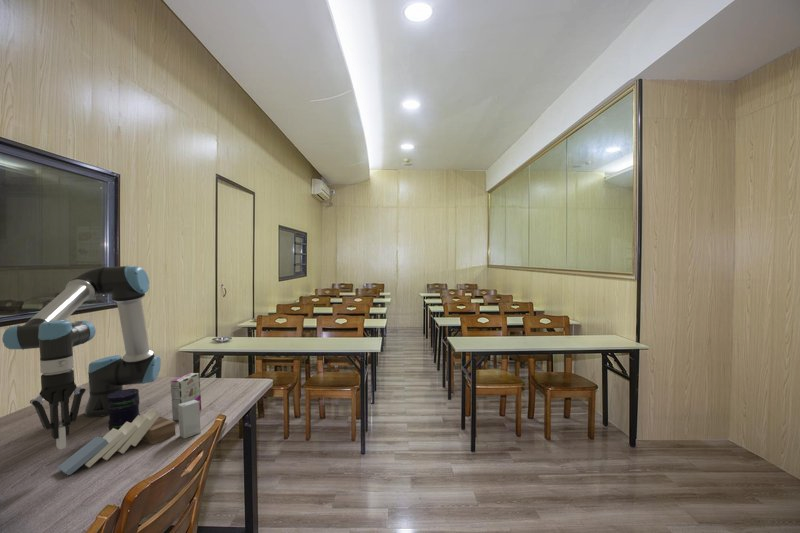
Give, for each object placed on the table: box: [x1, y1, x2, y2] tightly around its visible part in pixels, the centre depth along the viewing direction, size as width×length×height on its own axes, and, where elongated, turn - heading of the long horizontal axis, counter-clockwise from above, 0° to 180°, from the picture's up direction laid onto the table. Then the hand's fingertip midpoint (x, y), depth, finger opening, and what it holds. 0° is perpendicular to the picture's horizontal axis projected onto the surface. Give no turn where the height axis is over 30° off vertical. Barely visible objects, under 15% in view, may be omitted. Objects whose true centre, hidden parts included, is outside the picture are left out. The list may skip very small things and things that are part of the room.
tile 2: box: [100, 422, 139, 461], centre depth 129 cm, size 6×2×12 cm
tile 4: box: [130, 408, 162, 447], centre depth 136 cm, size 6×2×12 cm
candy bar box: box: [170, 372, 202, 422], centre depth 159 cm, size 11×5×16 cm, turn 168°
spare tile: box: [56, 435, 109, 476], centre depth 121 cm, size 6×2×12 cm
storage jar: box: [107, 388, 141, 431], centre depth 145 cm, size 10×10×15 cm
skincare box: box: [178, 400, 201, 439], centre depth 140 cm, size 6×4×12 cm
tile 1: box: [84, 428, 125, 469], centre depth 125 cm, size 6×2×12 cm
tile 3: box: [116, 414, 151, 455], centre depth 132 cm, size 6×2×12 cm
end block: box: [140, 416, 176, 445], centre depth 140 cm, size 10×8×5 cm
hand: (61, 447), depth 116 cm, fingers closed
